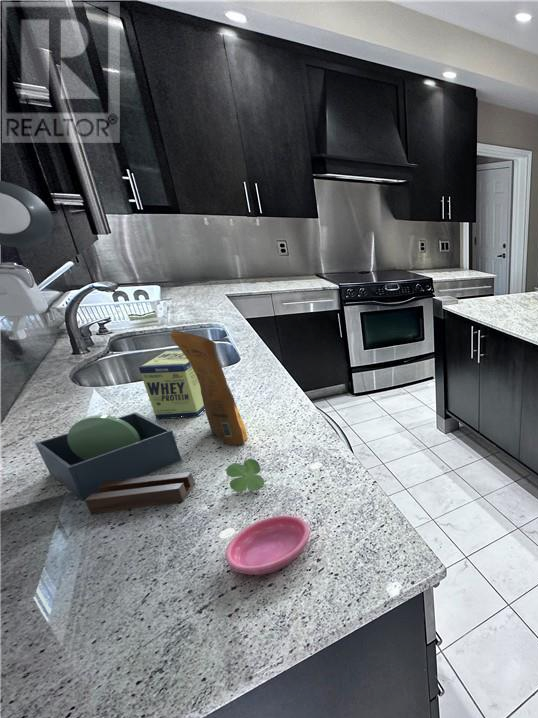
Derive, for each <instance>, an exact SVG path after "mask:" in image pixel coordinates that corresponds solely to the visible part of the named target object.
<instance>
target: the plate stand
mask: <svg viewBox="0 0 538 718" xmlns="http://www.w3.org/2000/svg"><path fill="white" fill-rule="evenodd" d="M195 486H196V481H195V478H194V476H193V472H192V471H185V472H183V471H182V472H174V473H166V474H159V475H149V476H141V477H139V478H131V479H122V480H113V481H105V482H103V483H102V484H101V485H100V486H99V487H98V489H99V491H100V493H94V494H91V495H90V496H89V497H88V498H87V499H86V500H84V502H85V504H86V506H87V509H88V511H89V513H90V514H91V515H94V514H102V513H109V512H117V511H125V510H132V509H133V510H134V509H139V508H140V509H141V508H147V507H155V506H163V505H170V504H177V503H184V502H185V500H186V499H187V497H188V496H189V494H190V493H191V492H192V490H193V488H194V487H195Z"/></svg>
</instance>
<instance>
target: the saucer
mask: <svg viewBox="0 0 538 718" xmlns="http://www.w3.org/2000/svg"><path fill="white" fill-rule="evenodd" d="M309 539H310V528H309V525H308V523H307V522H306V521H305V520H304V519H302V518H301V517H299V516H296V515H290V514H288V515H287V514H285V515H275V516H270V517H266V518H263V519H260V520H257V521H256V522H253V523H251V524H249V525H248V526H246V527H245V528H244V529H242V530H241V531H239V532H238V533H237V534H235V536H234V537H233V538H232V539H231V540H230V541H229V543H228V545H227V547H226V549H225V561H226V563H227V566H229V568H230V569H232V570H233V571H235V572H237V573H241V574H244V575H253V576H260V575H261V576H262V575H268V574H271V573H275V572H277V571H279V570H282V569H284V568H285V567H287V566H289V565H290V564H291V563H292V562H293V561H294V560H295V559H296V558H298V556H299V555H300V554H301V553H302V552H303V550H304V549H305V548H306V546H307V544H308V542H309Z"/></svg>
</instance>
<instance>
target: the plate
mask: <svg viewBox="0 0 538 718" xmlns="http://www.w3.org/2000/svg"><path fill="white" fill-rule="evenodd" d="M67 433H68V435H67V441H68V444H69V446H70V448H71V450H72V451H73V452H74V453H75V454H76V455H77V456H79V457H80V458H82V459H83V460H85V461H86V460H89V459H91V458H94V457H97V456H100V455H103V454H105V453H108V452H111V451H114V450H117V449H119V448H122V447H125V446H128V445H131V444H133V443H136V442H139V441H140V437H139V434H138V433H137V431H136V430H135V429H134V428H133V427H132V426H131V425H130V424H129V423H127V422H125V421H123V420H121V419H119V417H116V416H112V415H104V414H97V415H90V416H87V417H84V418H82V419H80V420H79V421H76V422H75V423H74V424H73V425H72V426H71V427H70V428H69V430H68V432H67Z"/></svg>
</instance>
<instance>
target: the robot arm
mask: <svg viewBox="0 0 538 718" xmlns="http://www.w3.org/2000/svg"><path fill="white" fill-rule="evenodd" d="M53 229H54V219H53V215H52V213H51V211H50V209H49V207H48V206H47V204H45V202H44V201H42V199H41V198H39V197H38V196H37V195H35V194H34V193H33V192H31V191H29V190H28V189H26V188H24V187H22V186H19V185H16V184H14V183H11V182H7V181H3V180H0V246H4V247H10V248H26V247H31V246H32V247H33V246H36V245H38V244H41V243H42V242H44V241H45V240H46V239H48V238H49V237H50V236H51V234H52V232H53ZM44 296H45V295H44V294H43V293H42V291H41V289H40V288H39V286H38V284H37V283H36V282H35V278H34V276H33V274H32V272H31V271H30V269H29V268H26V267H25V266H23V265H19V264H18V263H17V262H10V261H7V262H0V317H6V318H7V321H8V322H9V323H12V326H11V329H8V330H6V331H5V332H6V335H7V336H8V339H9V340H11V341H19V340H24V339H26V338H28V336H27V334H26V331H25V328H26V325H27V322H28V316H36V315H39V314H43V313H45V312H46V311H47V310H48V308H49V305H48V302H47V300H46V298H45V297H44Z"/></svg>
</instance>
